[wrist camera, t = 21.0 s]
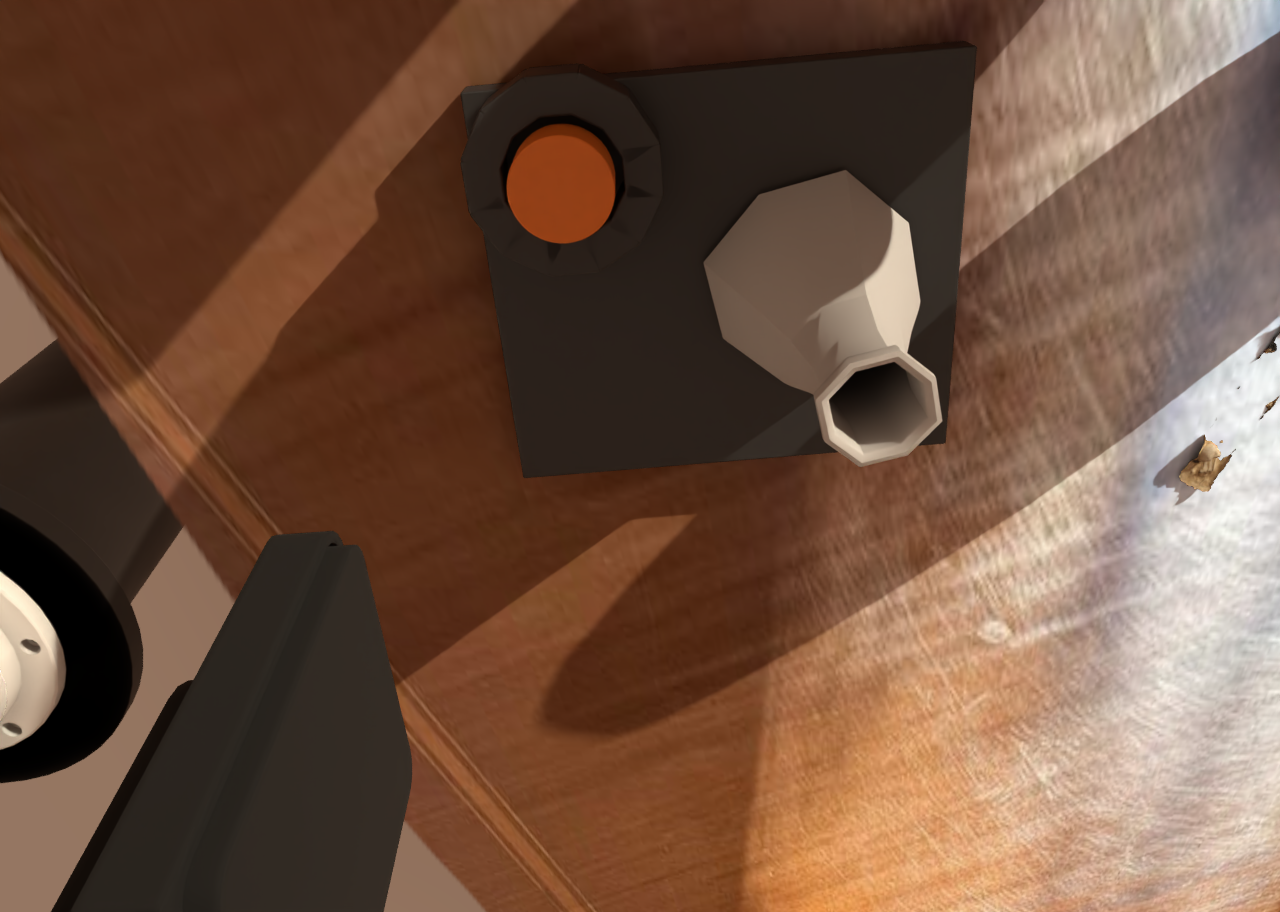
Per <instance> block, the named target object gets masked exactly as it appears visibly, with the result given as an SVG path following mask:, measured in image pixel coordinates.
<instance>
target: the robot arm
mask: <svg viewBox="0 0 1280 912" xmlns="http://www.w3.org/2000/svg"><path fill="white" fill-rule="evenodd" d="M66 672H67V665H66V659H65V653H64V648H63V645H62V643H61V640H60V638H59V636H58V633H57V631H56V628H55V626H54V625H53V623H52V622H51V620H50V619H49V617H48V616H47V614H46V613H45V612H44V610H43V609H42V607H41V606H40V605H39V604H38V603H37V602H36V601H35V600H34V599H33V597H32V596H31V595H30V594H29V593H28V592H27V591H26V590H25V589H24V588H23V587H22V586H21V585H19V584H18V583H17V582H16V581H14V580H13V579H12V578H11V577H9V576H8V575H7V574H6V573H4V572H3V571H2V570H0V750H1V749H4V748H7V747H10V746H13V745H15V744H17V743H19V742H20V741H22V740H24V739H26V738H27V737H29V736H31V735H32V734H33V733H34V732H35V731H36V730H37V729H38V728H39V727H40V726H41V725H42V724H43V723H45V721H46V720H47V718H48V717H49V715H50V714H51V712H52V711H53V710H54V708H55V707H56V705H57V704H58V702H59V700H60V697H61V695H62V692H63V690H64V688H65V682H66ZM411 782H412V758H411V751H410V746H409V742H408V738H407V734H406V730H405V725H404V721H403V717H402V713H401V709H400V705H399V701H398V696H397V692H396V688H395V684H394V680H393V676H392V671H391V667H390V663H389V659H388V655H387V651H386V647H385V642H384V638H383V634H382V630H381V626H380V622H379V617H378V613H377V609H376V605H375V601H374V597H373V592H372V588H371V584H370V580H369V576H368V572H367V568H366V563H365V559H364V556H363V553H362V551H361V549H360V547H359V546H357V545H344V546H343V543H342V540H341V538H340V537H339V535H338V534H337V533H336V532H334V531H325V532H311V533H296V534H282V535H275V536H272V537H271V538H270V539H269V540H268V542H267V543H266V545H265V547H264V549H263V551H262V553H261V554H260V556H259V558H258V560H257V562H256V564H255V566H254V568H253V569H252V571H251V573H250V575H249V577H248V579H247V581H246V583H245V584H244V586H243V588H242V590H241V592H240V594H239V596H238V598H237V599H236V601H235V603H234V605H233V607H232V609H231V611H230V613H229V615H228V616H227V618H226V620H225V622H224V624H223V626H222V628H221V630H220V631H219V633H218V635H217V637H216V639H215V641H214V643H213V644H212V646H211V649H210V650H209V652H208V654H207V656H206V658H205V660H204V661H203V663H202V665H201V667H200V669H199V671H198V673H197V675H196V676H195V678H194V680H190V681H187V682H185V683H183V684H181V685H180V686H178V687H177V688H176V690H175V691H174V692H173V694H172V695H171V696H170V698H169V699H168V701H167V702H166V704H165V706H164V708H163V710H162V712H161V713H160V715H159V717H158V719H157V721H156V722H155V724H154V726H153V728H152V730H151V731H150V734H149V735H148V737H147V739H146V741H145V742H144V744H143V746H142V748H141V750H140V751H139V753H138V755H137V757H136V759H135V760H134V762H133V764H132V766H131V768H130V769H129V772H128V773H127V775H126V777H125V779H124V780H123V782H122V784H121V786H120V788H119V790H118V791H117V793H116V795H115V797H114V799H113V801H112V802H111V804H110V806H109V808H108V809H107V811H106V813H105V815H104V817H103V819H102V820H101V822H100V824H99V826H98V827H97V830H96V831H95V833H94V835H93V837H92V838H91V840H90V842H89V844H88V846H87V848H86V849H85V851H84V853H83V855H82V856H81V858H80V860H79V862H78V864H77V866H76V867H75V869H74V871H73V873H72V875H71V876H70V878H69V880H68V882H67V884H66V885H65V887H64V889H63V891H62V893H61V895H60V896H59V898H58V900H57V902H56V904H55V905H54V907H53V909H52V911H51V912H383V911H384V907H385V903H386V898H387V893H388V889H389V884H390V880H391V875H392V871H393V867H394V862H395V857H396V853H397V848H398V844H399V839H400V835H401V830H402V826H403V821H404V817H405V812H406V808H407V803H408V799H409V794H410V789H411Z"/></svg>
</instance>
